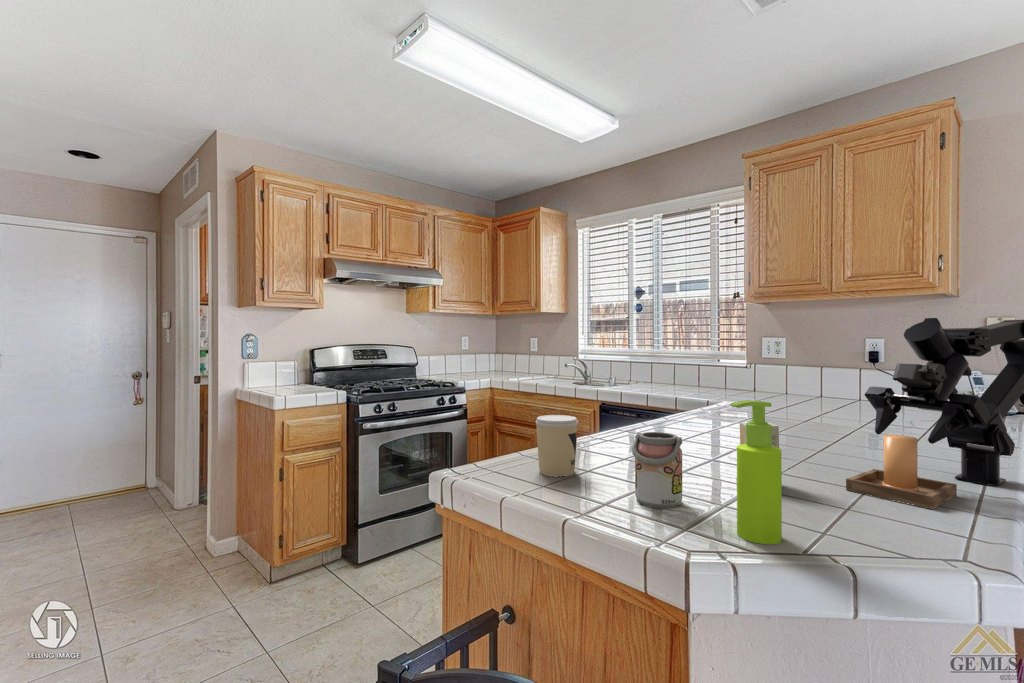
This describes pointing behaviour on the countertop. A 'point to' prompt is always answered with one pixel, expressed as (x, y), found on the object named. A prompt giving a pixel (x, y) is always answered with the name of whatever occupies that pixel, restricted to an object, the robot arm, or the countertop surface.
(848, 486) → the walnut tray
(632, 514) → the countertop surface
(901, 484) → the peach dome-topped cylinder
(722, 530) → the countertop surface
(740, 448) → the soap dispenser
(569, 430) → the coffee cup
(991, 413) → the robot arm
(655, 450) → the printed pail with handle
